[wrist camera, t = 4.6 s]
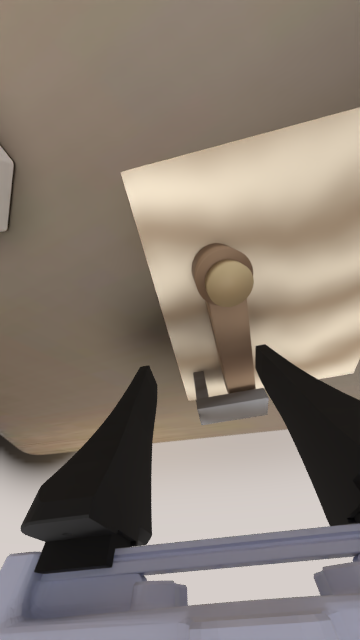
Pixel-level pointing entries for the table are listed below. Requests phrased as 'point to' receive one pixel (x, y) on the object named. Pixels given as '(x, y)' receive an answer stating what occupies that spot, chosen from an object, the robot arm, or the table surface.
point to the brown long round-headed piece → (227, 321)
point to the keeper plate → (258, 251)
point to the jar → (5, 187)
